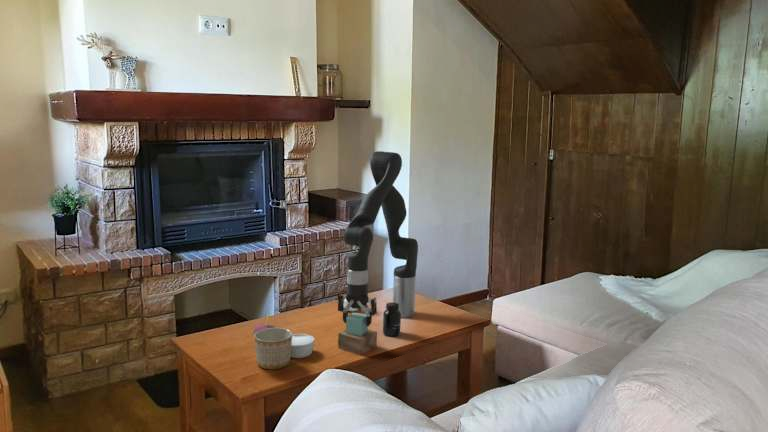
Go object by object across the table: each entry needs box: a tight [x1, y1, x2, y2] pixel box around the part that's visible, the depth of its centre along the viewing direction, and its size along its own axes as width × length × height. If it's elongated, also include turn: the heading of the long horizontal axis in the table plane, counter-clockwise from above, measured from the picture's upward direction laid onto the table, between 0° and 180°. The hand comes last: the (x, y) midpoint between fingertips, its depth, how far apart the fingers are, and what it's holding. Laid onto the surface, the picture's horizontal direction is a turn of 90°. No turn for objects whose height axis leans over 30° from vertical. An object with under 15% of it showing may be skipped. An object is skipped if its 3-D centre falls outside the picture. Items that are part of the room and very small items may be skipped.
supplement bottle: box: [382, 301, 402, 337], centre depth 234 cm, size 7×7×12 cm
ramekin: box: [290, 333, 316, 359], centre depth 214 cm, size 11×11×5 cm
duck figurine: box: [343, 299, 359, 312], centre depth 260 cm, size 12×8×11 cm
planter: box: [253, 327, 293, 370], centre depth 205 cm, size 13×13×10 cm
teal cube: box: [345, 312, 369, 336], centre depth 220 cm, size 6×6×6 cm
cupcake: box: [252, 312, 276, 336], centre depth 222 cm, size 9×8×12 cm
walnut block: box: [337, 328, 378, 356], centre depth 220 cm, size 10×10×6 cm
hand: (357, 324), depth 220 cm, fingers open, 8 cm apart
